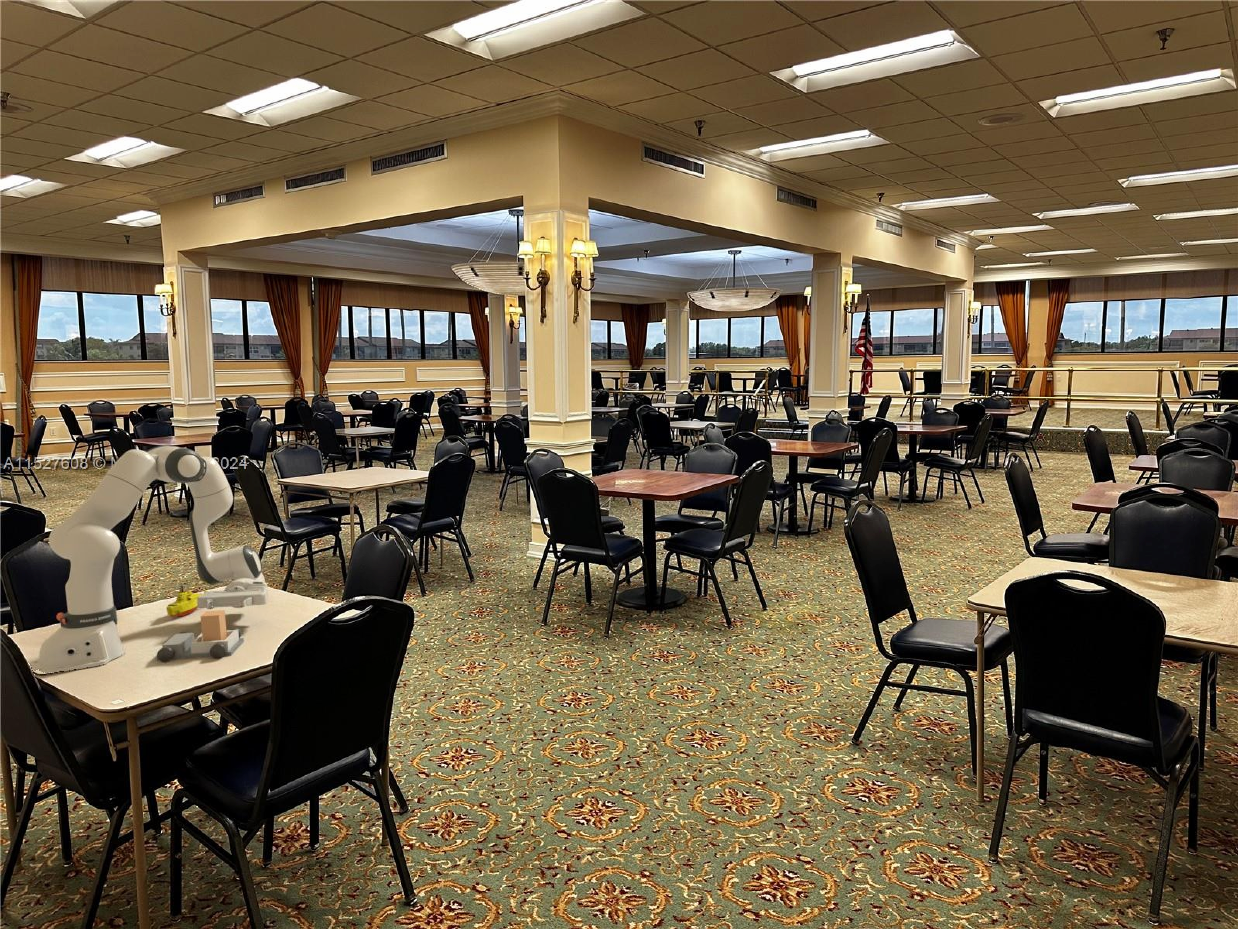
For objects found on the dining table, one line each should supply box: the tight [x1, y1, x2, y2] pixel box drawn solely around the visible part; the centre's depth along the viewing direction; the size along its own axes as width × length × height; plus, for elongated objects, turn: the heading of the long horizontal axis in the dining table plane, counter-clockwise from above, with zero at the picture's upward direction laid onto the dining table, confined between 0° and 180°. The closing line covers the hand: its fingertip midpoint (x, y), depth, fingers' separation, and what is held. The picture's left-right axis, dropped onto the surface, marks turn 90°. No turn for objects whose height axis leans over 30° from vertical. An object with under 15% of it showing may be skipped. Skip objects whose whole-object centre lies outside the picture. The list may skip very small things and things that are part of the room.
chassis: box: [155, 626, 245, 663], centre depth 240 cm, size 20×16×4 cm
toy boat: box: [166, 585, 209, 617], centre depth 277 cm, size 6×18×10 cm, turn 174°
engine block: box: [200, 609, 227, 641], centre depth 240 cm, size 5×5×10 cm
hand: (225, 605), depth 252 cm, fingers open, 8 cm apart
